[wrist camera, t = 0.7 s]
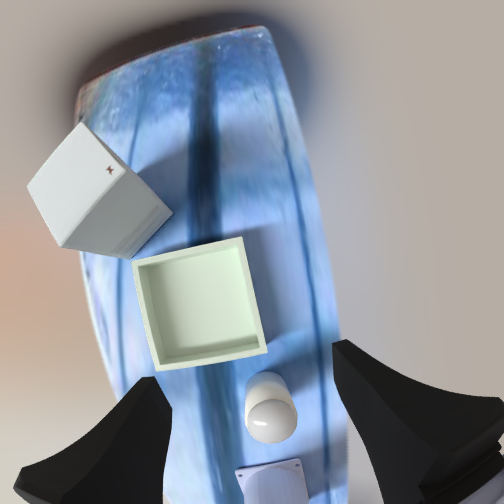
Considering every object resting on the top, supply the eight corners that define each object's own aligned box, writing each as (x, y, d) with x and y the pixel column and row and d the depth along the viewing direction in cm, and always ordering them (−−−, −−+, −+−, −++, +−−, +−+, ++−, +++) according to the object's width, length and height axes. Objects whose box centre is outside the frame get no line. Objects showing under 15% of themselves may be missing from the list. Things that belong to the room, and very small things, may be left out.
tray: (265, 345, 27) (267, 352, 25) (164, 363, 27) (156, 371, 24) (242, 240, 29) (241, 236, 26) (142, 263, 28) (131, 261, 25)
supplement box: (136, 172, 29) (83, 116, 17) (175, 214, 29) (129, 169, 16) (93, 217, 29) (24, 185, 16) (128, 262, 28) (59, 249, 16)
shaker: (289, 402, 27) (303, 438, 19) (250, 410, 27) (251, 449, 19) (282, 367, 27) (294, 396, 19) (241, 375, 27) (239, 408, 19)
